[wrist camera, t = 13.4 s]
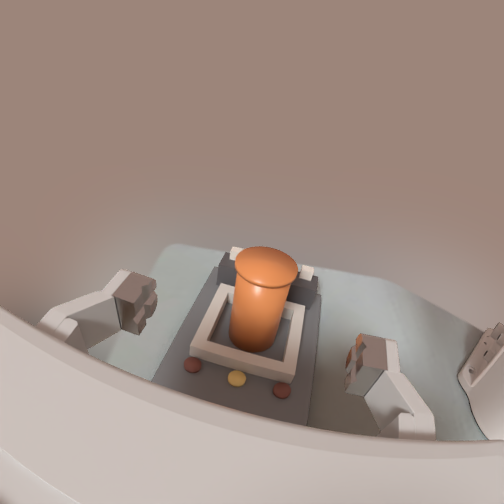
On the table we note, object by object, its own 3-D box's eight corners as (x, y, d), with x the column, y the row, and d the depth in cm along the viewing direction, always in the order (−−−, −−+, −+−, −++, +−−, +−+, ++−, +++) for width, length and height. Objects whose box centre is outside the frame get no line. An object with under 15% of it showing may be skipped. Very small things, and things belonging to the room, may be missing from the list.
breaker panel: (213, 272, 41) (218, 238, 38) (318, 300, 40) (331, 268, 37) (132, 425, 22) (122, 396, 19) (295, 474, 21) (317, 454, 18)
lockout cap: (249, 308, 35) (262, 240, 30) (287, 335, 33) (309, 266, 28) (214, 332, 31) (221, 260, 27) (254, 364, 29) (272, 293, 24)
